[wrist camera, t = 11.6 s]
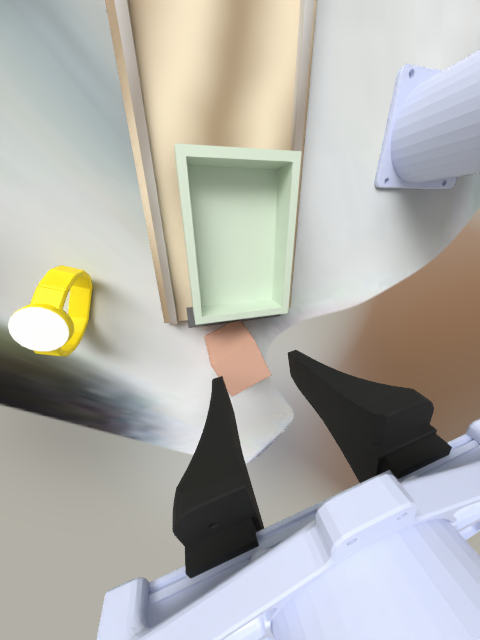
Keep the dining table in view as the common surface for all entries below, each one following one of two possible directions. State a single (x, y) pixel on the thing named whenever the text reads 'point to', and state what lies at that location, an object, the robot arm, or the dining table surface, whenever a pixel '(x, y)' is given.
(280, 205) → the pale green open tray
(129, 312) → the dining table surface
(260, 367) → the block
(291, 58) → the track
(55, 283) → the watch
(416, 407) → the robot arm
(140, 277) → the dining table surface
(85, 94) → the dining table surface
